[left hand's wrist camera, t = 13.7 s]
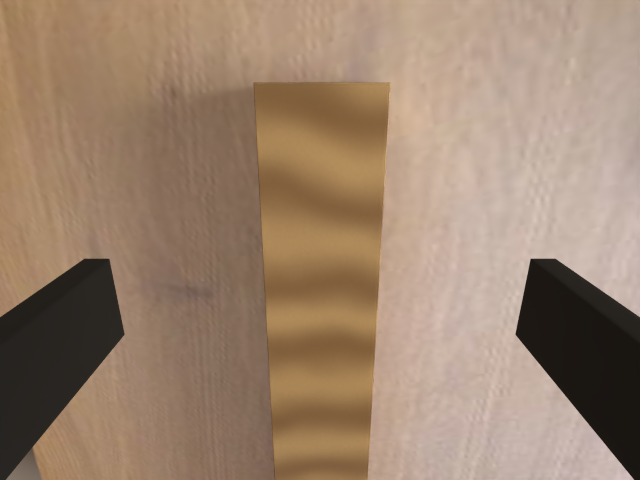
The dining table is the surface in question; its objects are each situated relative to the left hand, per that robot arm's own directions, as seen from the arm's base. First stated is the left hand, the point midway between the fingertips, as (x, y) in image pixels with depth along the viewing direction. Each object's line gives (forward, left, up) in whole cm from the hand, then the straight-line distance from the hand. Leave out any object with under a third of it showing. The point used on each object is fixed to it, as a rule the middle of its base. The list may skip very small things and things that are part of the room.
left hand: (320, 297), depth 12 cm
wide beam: (+22, +5, -25) cm, 33 cm away
